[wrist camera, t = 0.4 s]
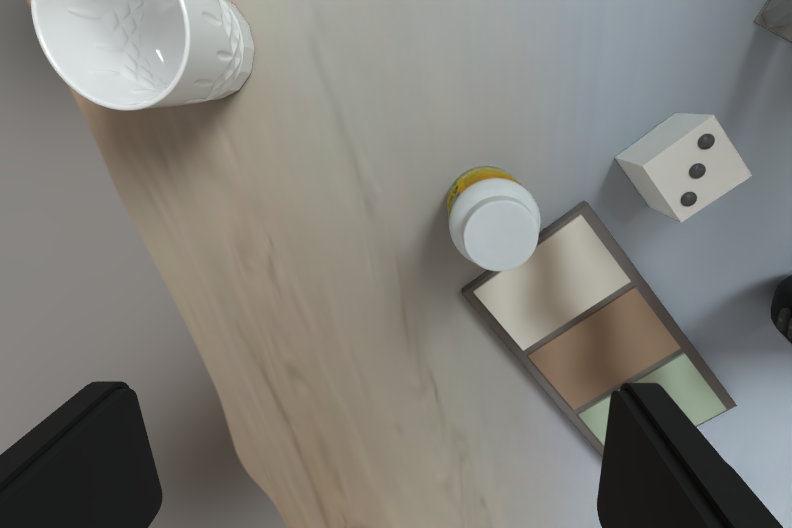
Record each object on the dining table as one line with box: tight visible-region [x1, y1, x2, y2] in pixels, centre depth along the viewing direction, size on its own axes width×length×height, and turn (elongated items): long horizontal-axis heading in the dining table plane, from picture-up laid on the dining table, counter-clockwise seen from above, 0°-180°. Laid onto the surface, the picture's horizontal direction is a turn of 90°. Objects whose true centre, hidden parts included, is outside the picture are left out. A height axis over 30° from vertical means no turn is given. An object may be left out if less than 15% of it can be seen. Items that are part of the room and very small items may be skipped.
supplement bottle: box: [447, 166, 541, 271], centre depth 29 cm, size 5×5×10 cm
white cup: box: [31, 0, 255, 111], centre depth 26 cm, size 8×8×10 cm
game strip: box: [462, 201, 737, 458], centre depth 36 cm, size 11×21×1 cm, turn 41°
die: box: [615, 113, 752, 223], centre depth 29 cm, size 4×4×5 cm
